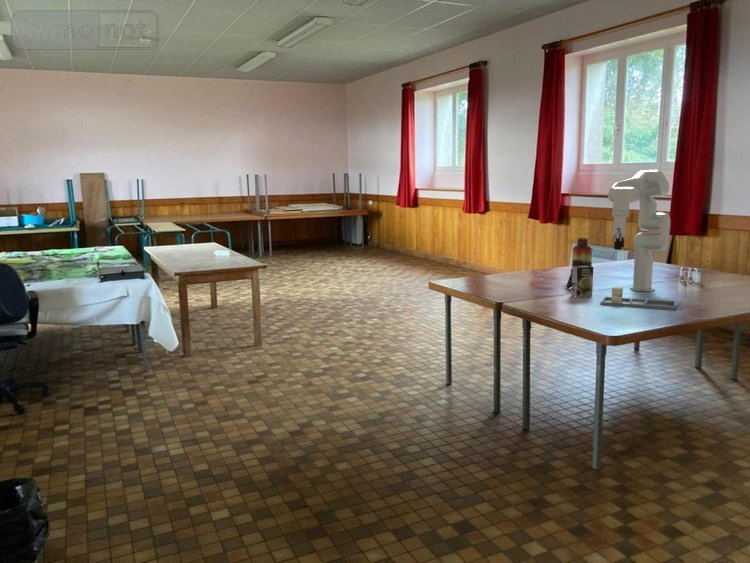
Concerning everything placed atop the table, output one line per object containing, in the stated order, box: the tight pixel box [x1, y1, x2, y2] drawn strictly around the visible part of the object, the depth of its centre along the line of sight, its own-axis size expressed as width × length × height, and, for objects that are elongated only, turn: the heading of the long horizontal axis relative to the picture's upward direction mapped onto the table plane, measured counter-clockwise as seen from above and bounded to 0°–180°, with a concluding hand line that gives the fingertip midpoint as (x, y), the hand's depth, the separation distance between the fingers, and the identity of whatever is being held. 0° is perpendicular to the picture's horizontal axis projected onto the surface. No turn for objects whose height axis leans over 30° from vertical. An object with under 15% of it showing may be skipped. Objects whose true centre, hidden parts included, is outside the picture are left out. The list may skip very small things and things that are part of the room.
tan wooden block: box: [610, 286, 624, 303], centre depth 306 cm, size 4×4×8 cm
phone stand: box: [565, 268, 572, 288], centre depth 346 cm, size 9×6×12 cm, turn 44°
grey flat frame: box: [599, 296, 678, 311], centre depth 302 cm, size 14×34×2 cm, turn 62°
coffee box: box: [570, 265, 594, 298], centre depth 325 cm, size 9×6×16 cm
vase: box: [571, 237, 593, 267], centre depth 366 cm, size 11×11×26 cm
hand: (619, 248), depth 302 cm, fingers open, 9 cm apart
